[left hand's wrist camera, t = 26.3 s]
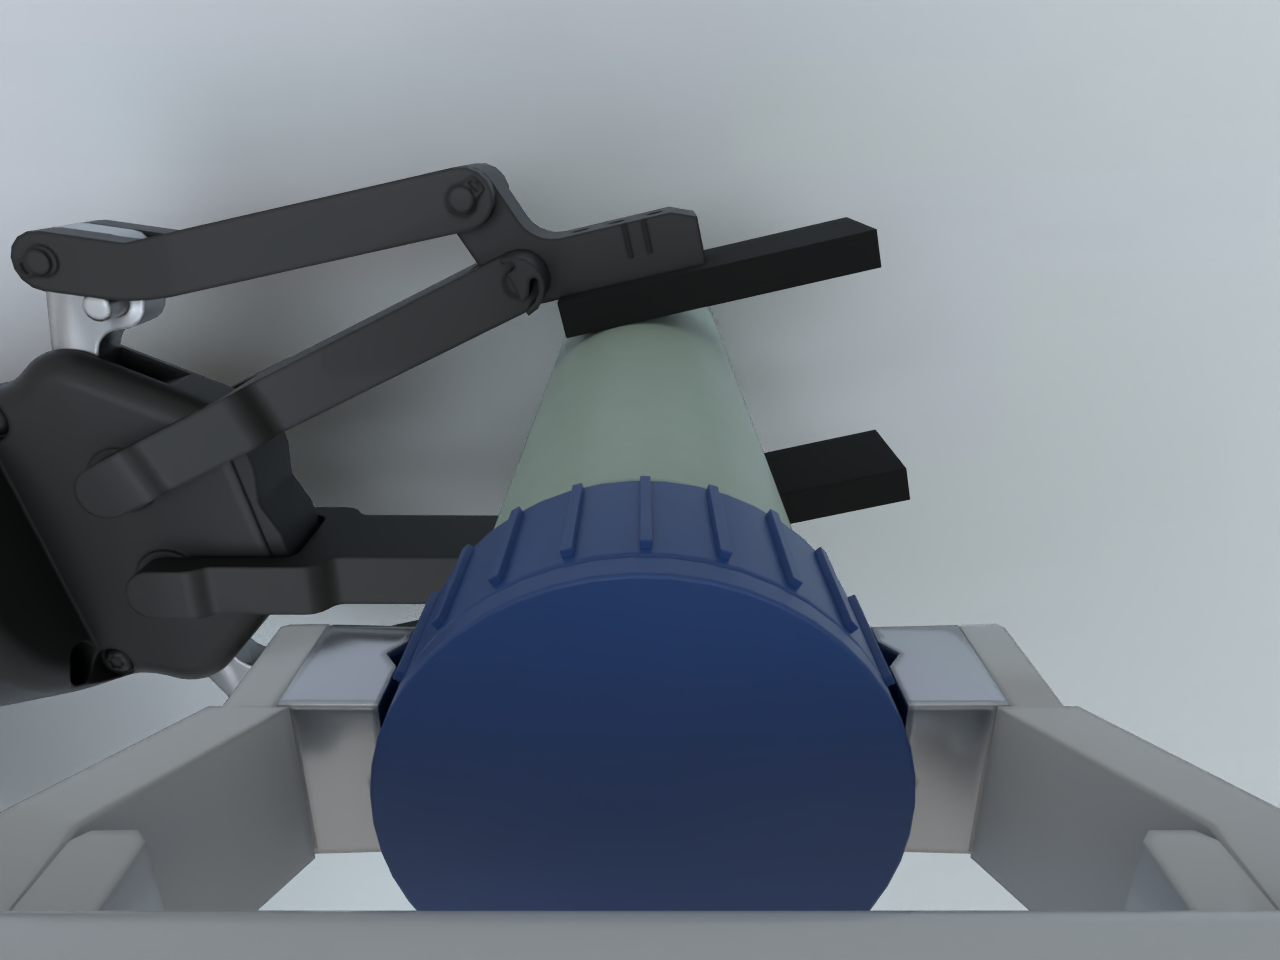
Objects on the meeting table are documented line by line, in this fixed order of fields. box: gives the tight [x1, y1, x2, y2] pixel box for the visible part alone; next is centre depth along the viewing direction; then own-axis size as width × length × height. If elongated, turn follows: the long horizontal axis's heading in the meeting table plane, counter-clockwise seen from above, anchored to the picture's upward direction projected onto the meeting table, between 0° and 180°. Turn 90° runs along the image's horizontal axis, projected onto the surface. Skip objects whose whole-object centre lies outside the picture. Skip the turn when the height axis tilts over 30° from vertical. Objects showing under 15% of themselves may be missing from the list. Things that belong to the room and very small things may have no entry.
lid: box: [370, 476, 916, 911], centre depth 9 cm, size 5×5×2 cm
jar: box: [494, 307, 792, 530], centre depth 17 cm, size 4×4×18 cm
